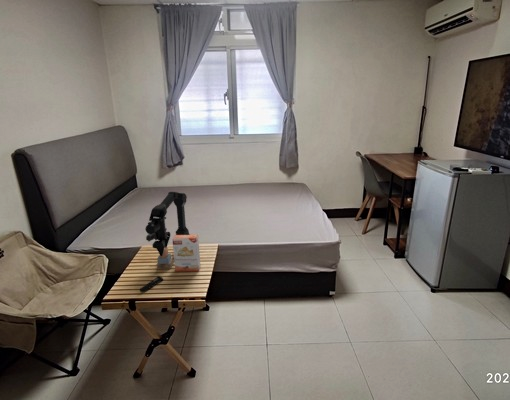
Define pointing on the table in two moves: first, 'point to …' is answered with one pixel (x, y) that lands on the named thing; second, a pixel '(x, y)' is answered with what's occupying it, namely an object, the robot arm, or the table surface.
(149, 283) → the electric trimmer
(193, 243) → the cracker box
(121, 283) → the table surface
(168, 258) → the tower middle
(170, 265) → the tower base
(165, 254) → the terracotta cylinder
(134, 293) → the table surface
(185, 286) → the table surface
